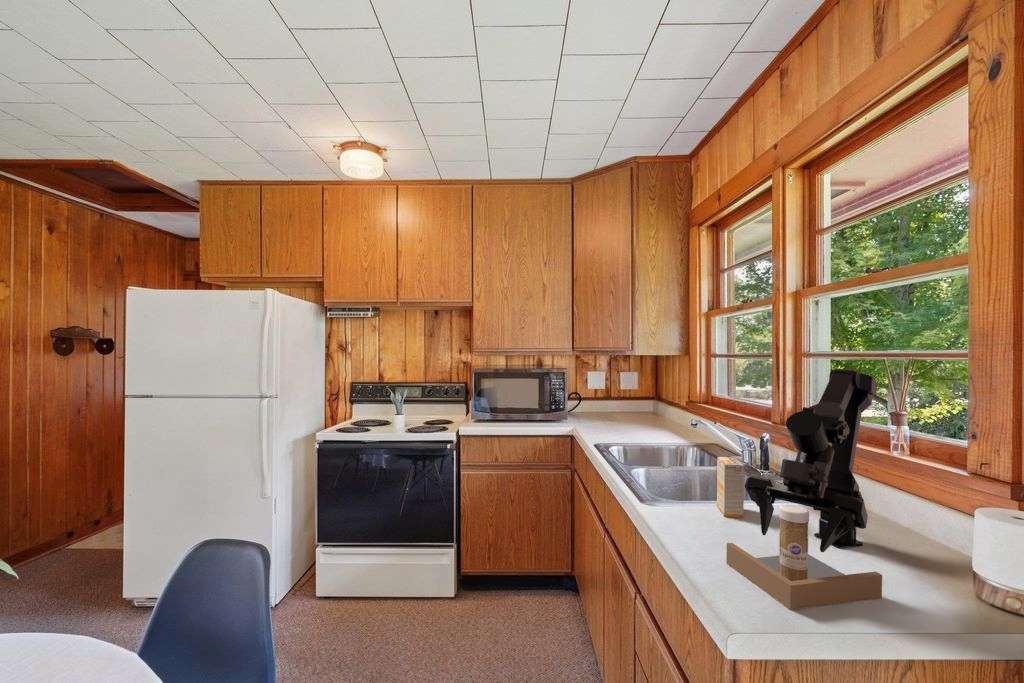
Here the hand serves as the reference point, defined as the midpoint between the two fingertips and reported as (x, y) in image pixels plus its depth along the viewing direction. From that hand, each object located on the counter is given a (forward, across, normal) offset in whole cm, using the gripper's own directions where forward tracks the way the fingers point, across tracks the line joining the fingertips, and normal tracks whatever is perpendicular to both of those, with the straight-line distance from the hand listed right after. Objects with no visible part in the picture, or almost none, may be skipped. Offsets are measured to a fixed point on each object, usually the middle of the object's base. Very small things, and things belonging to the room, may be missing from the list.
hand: (791, 542), depth 84 cm
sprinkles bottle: (+4, 0, +7) cm, 8 cm away
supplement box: (-15, -23, +28) cm, 39 cm away
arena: (+2, 0, +11) cm, 11 cm away
